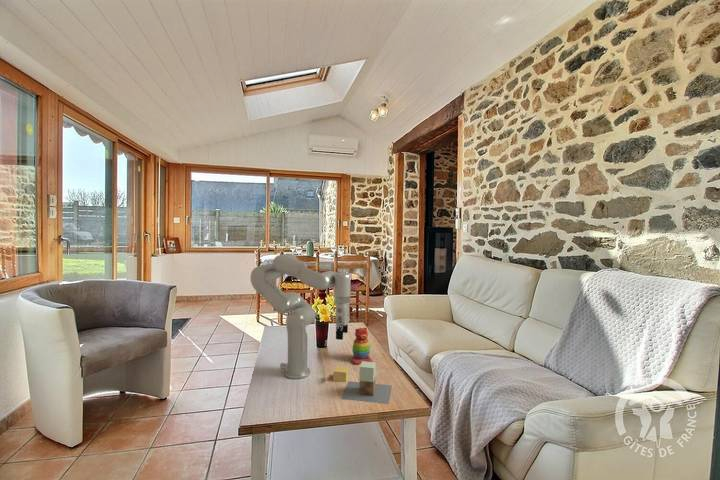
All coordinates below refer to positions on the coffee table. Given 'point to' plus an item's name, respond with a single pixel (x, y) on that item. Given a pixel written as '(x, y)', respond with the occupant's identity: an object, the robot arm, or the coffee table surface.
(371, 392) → the walnut base block
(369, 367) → the sage-green block
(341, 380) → the ochre block
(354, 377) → the coffee table surface
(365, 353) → the stacking bear
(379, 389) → the slate base board
